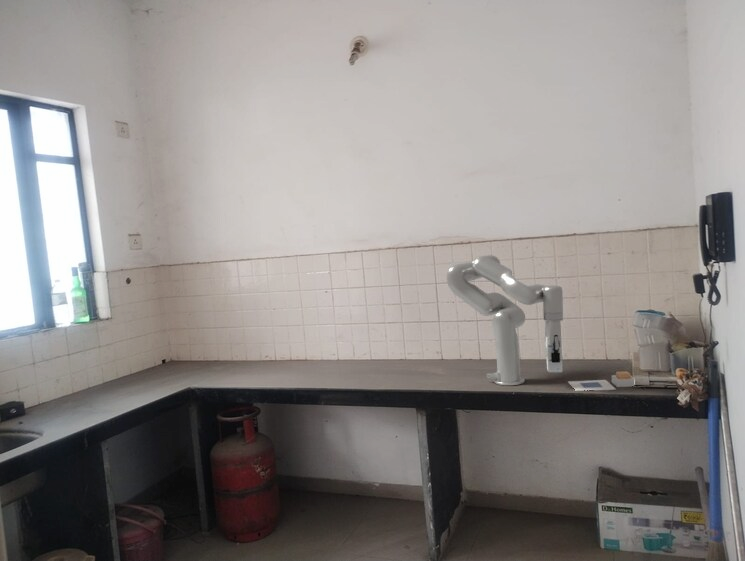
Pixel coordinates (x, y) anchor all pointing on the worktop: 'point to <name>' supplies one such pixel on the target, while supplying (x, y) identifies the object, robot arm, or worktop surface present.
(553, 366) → the syrup box
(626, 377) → the button
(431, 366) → the worktop surface
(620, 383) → the button housing
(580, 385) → the white square panel
